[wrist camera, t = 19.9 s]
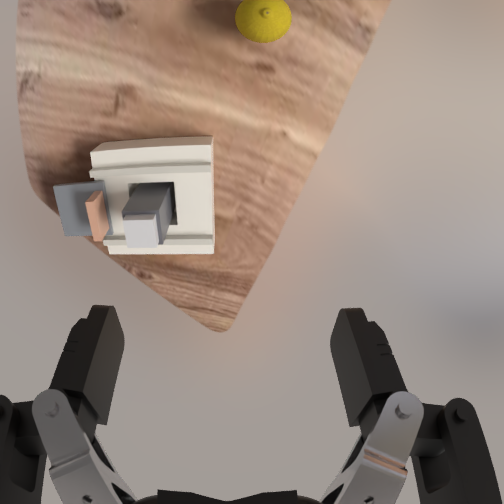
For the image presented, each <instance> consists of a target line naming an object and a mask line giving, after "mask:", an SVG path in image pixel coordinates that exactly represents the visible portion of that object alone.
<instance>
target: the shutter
mask: <svg viewBox="0 0 504 504" xmlns="http://www.w3.org/2000/svg"><path fill="white" fill-rule="evenodd" d="M53 189H54V193H55V198H56V202H57V206H58V210H59V214H60V218H61V222H62V226H63V230H64V233H65V236H89V235H93V239H94V241H102V240H103V238H104V236H105V235H113V233H114V231H113V227H112V221H111V216H110V211H109V205H108V200H107V194H106V188H105V182H104V180H103V181H90V182H78V183H67V184H56V185H54V186H53Z"/></svg>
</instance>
